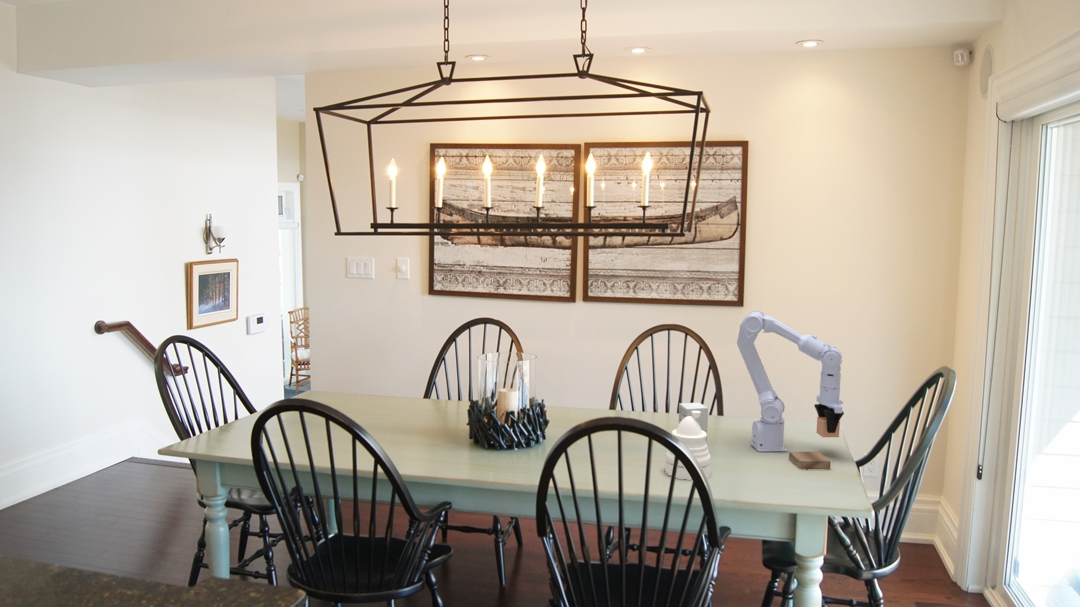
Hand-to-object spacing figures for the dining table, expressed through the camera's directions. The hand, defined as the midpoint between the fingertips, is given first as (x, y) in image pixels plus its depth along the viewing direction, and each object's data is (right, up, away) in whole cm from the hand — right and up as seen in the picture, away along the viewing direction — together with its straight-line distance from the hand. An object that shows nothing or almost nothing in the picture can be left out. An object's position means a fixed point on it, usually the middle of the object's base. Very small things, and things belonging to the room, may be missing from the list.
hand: (827, 429), depth 236 cm
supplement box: (-39, -7, +12) cm, 42 cm away
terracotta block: (0, -2, 0) cm, 2 cm away
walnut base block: (-9, -9, -8) cm, 15 cm away
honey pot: (-46, -10, -16) cm, 50 cm away
